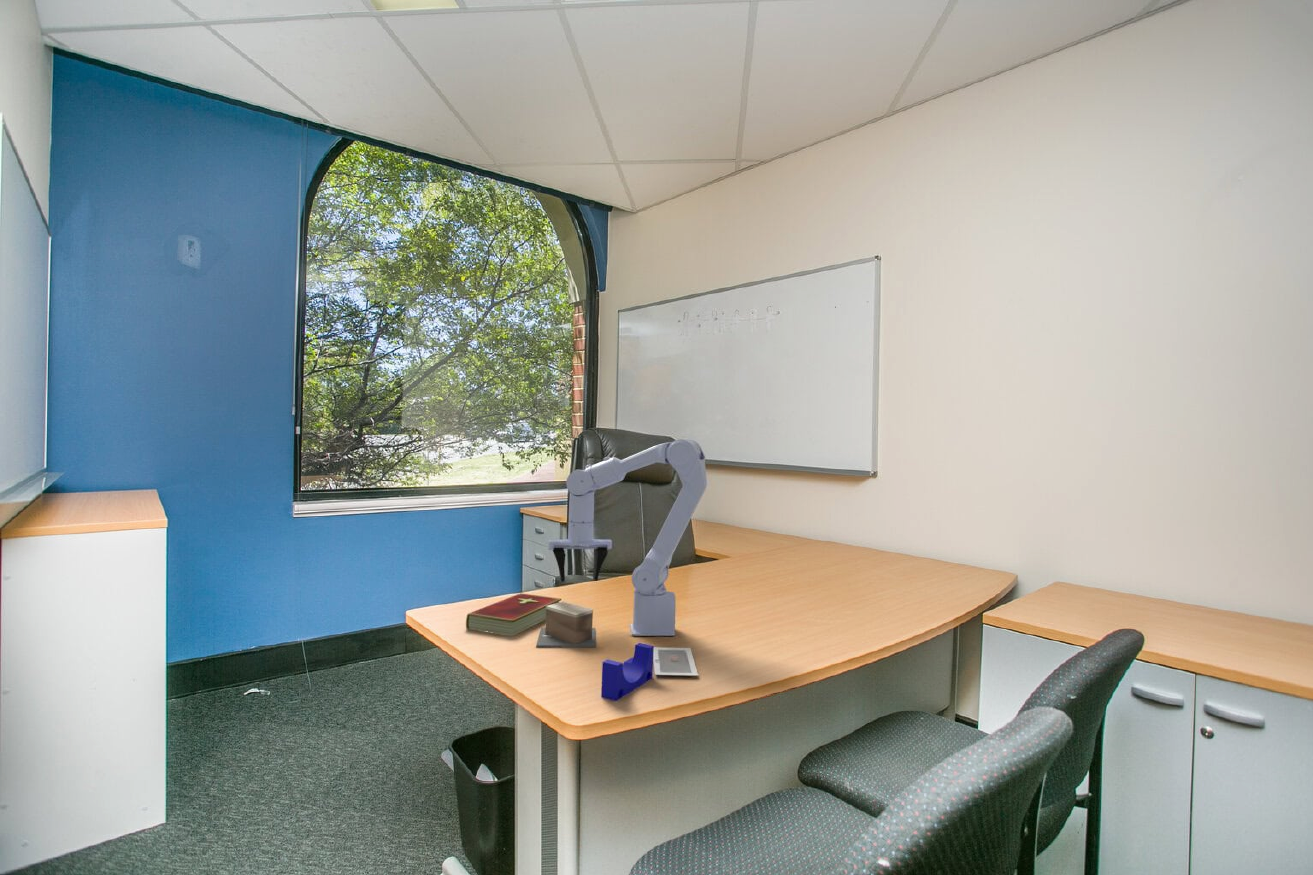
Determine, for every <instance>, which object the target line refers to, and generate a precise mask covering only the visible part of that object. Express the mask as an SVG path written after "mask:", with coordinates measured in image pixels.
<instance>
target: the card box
mask: <svg viewBox="0 0 1313 875" xmlns="http://www.w3.org/2000/svg"><path fill="white" fill-rule="evenodd" d="M593 615H594V609H591V608H587V607H584V606H581V605H577V604H573V603H571V602H567V601H559V603H556V604H552V605H548V606H546V620H545V628H546V630H545V634H546V635H549V636H552V637H555V638H558V639H561V640H564V641H567V642H570V643H573V644H576V643H579V642H582V641H585V640H588V639H591V638H592V628H593V621H594V620H593V618H594V616H593Z"/></svg>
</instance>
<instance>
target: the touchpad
mask: <svg viewBox="0 0 1313 875" xmlns="http://www.w3.org/2000/svg"><path fill="white" fill-rule="evenodd" d="M691 649H692V648H691V647H657V646H656V647H655V646H654V651H653V672H654V676H655V675H656V676H658V675H659V676H699V673H698V670H697V667H696V663H695V660H694V656H693V653H692V650H691Z"/></svg>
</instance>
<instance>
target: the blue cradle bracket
mask: <svg viewBox="0 0 1313 875" xmlns="http://www.w3.org/2000/svg"><path fill="white" fill-rule="evenodd" d="M654 647H655V646H654V645H652V644H647V643H642V642H638V643H637V644H634V652H633V657H630V658H628V659H627V660H625V661H623V662H620V661H616V660H612V659H607V658H606V660H603V661H602V664H601V668H602V669H601V693H600V694H601V695H600V696H601V698H604V699H608V700H611V701H615V702H617V701H619V700H620V699H622V698H623V697H625V696H626V695H628V694H630V693H631V692H633V691H634V689H635V690H636V689H638V688H639V687H641V686H643V685H644V684H645V683H646V684H647V682H649V681H651V680H653V678H654V677H653V676H654V675H653V673H654V661H653V651H654Z"/></svg>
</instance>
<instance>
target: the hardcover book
mask: <svg viewBox="0 0 1313 875" xmlns="http://www.w3.org/2000/svg"><path fill="white" fill-rule="evenodd" d="M560 602H562V598H560V597H559V598H558V597H552V596H545V595H544V596H543V595H539V594H538V595H537V594H529V593H523V592H522V593H521V592H520V593H518V594H516V595H512V596H510V597H507V598H505V599H501V600H500V601H497V602H495V603H491V604H490V605H487V606H484V607H482V608H479V609H477V610H474V611H471V612H469V613H467V615H466V618H465V629H466V630H467V629H468V630H471V629H473V630H472V631H477V630H479V631H478V632H483V631H488V632H487V633H489V632H493V633H492V634H496V633H497V634H496V635H501V636H502V635H503V636H510V637H514V636H515V635H518V634H519V633H521V632H523V631H526V630H527V629H529V628H532V627H534V626H535V625H537V624H539V623H542V622H544V621H546V606H548V605H552V604H556V603H560Z"/></svg>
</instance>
